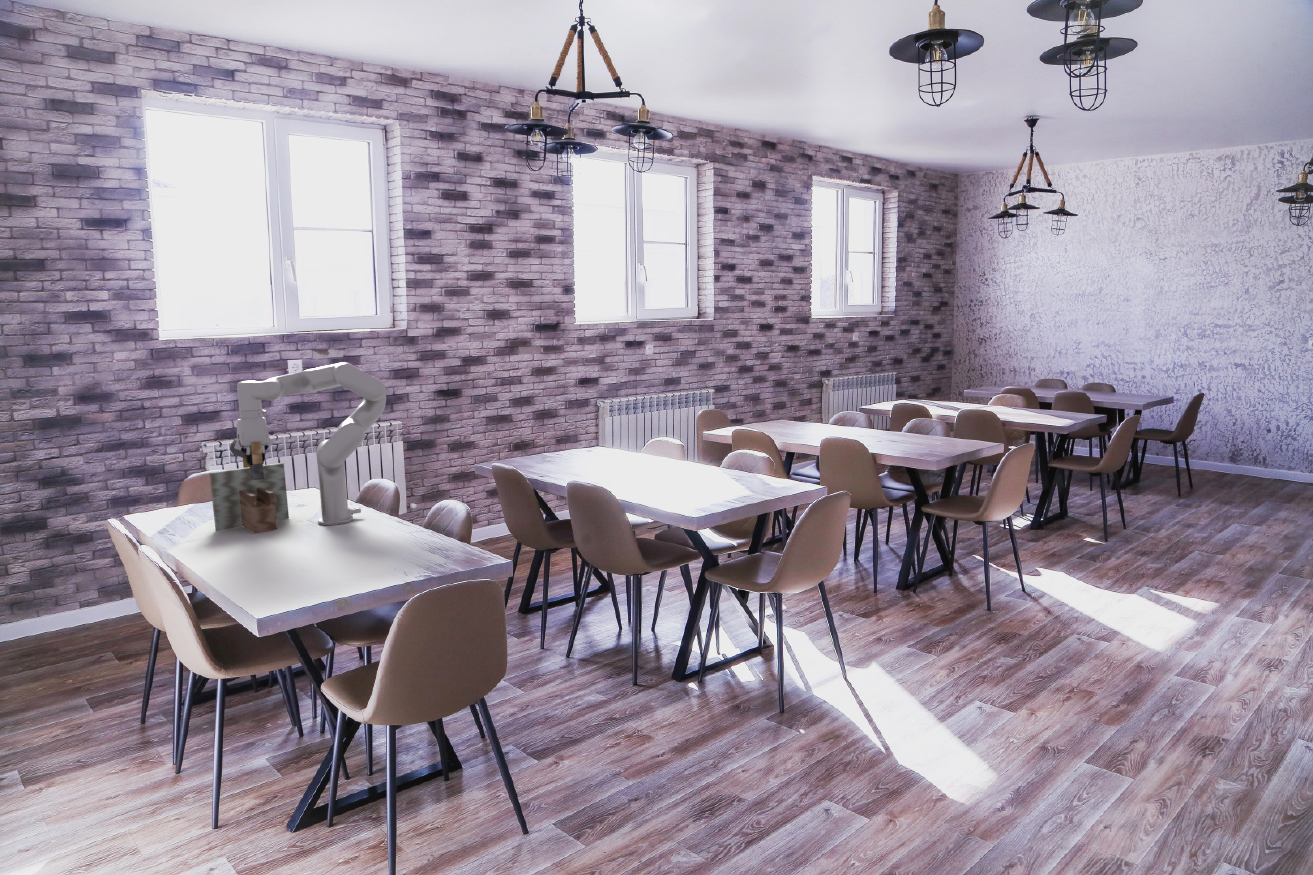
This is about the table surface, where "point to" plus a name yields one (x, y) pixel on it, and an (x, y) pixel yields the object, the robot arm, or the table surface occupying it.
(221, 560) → the table surface
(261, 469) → the brown and grey block
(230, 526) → the grey patterned screen
